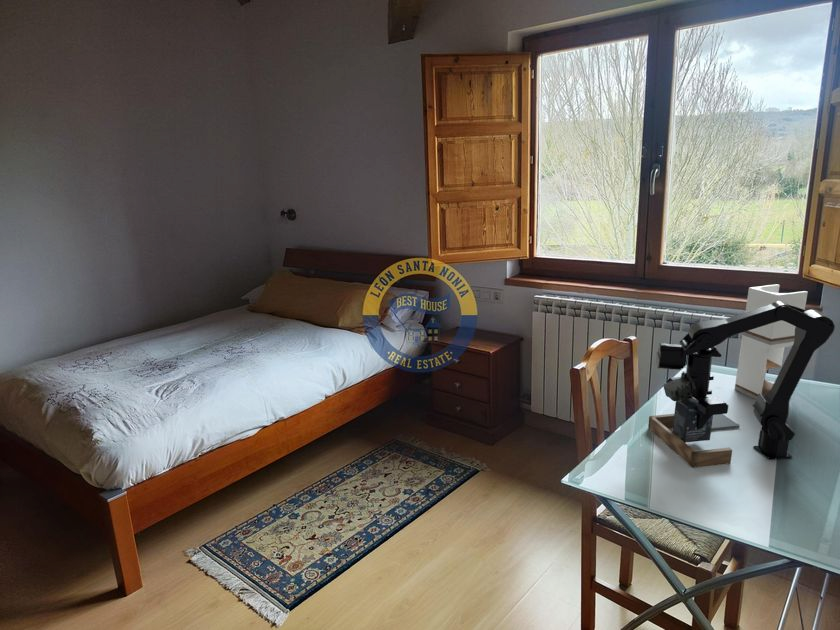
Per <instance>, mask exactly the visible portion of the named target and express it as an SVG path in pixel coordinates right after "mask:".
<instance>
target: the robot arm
mask: <svg viewBox="0 0 840 630" xmlns="http://www.w3.org/2000/svg"><path fill="white" fill-rule="evenodd" d="M781 320H782V321H785V322H787V323H790V324H792V325H794V326H796V327H795V338H794V344H793V346H791V348H790V350H789V352H788V353H787V356H786V358H785V361H784V362H783V363H782V366H781V367H780V371H779V373H778V375H777V377H776V378H775V381H774V382H773V386H772V389H771V390H770V391H769V392H768V393H767V394H766V395H762V394H760V393H759V394H758V397H757V400H756V399H755V400H756V401H755V402H754V403H753V404H752V405H751V406H752V407H753V414H754V416H755V417H756V420H757V421H758V422H759V424H760V426H761V429H760V431H759V436H758V437H759V438H758V443H757V444H758V445H753V446H752V448H753V449H754V450H755V451H756V452H758V453H760V454H761V455H762V456H763V457H765V458H767V459H768V460H770V461H772V460H782V459H790V458H793V455H792V454H790V453H789V452H788V450H789V445H790V441H792V439H793V438H794V436H795V434H796V433H795V432H794V430H793V429H792V428H791V426H790V425H789V424H788V422H787V421H788V417H789V412H790V410H789V409H790V401H791V398H792V396H793V394H794V392H795V390H796V388H797V386H798V385H799V382H800V381H801V378H802V376H803V374H804V373H805V371H806V369H807V367H808V365H809V363H810V361H811V360H812V357H813V355H814V353H815V352H816V351H817V350H818V349H820V347H822V346H823V345H824V344H826V343H827V341H828V340H829V338H830V337H831V336H832V335H833V333H834V331H835V329H836V327H835V324H834V321H833V320H832V319H830V317H829V316H827V315H825V314H824V313H822V312H821V311H819V310H817V309H808V310H806V309H805V310H804V309H801V308H798V307H795V306H792V305H788V304H786V303H784V302H782V301H776V302H774V303H772V304H770V305H767V306H764V307H761V308H758V309H755V310H751V311H748V312H746V311H745V312H743V313H742V312H741V313H739V314H736V315H733V316H730V317H727V318H724V319H723V318H722V319H709V320H702V321H697V322H695V323H692V324H691V326H690V327H689V329H688V333H686V334H685V336H683V337H682V339H680V341H678V343H679V344H675V343H674V344H671V343H666V342H660V343H659V346H658V349H657V351H656V356H655V357H656V359H655V361H656V364H655V365H656V368H657V369H659V370H660V369H661V370H662V369H663V370H678V371H679V370H681V369H684V367H686V370H685V371H682V372H681V374H680V376H678V377H677V376H676V377H669V378H668V379H667V380H666V382H665V383H663V384H662V385H663V390H664V393H665V396H666V397H667V398H669V399H671V401H673V402H676V401H678V400H680V399H681V400H684V399H689V398H694V399H695V400H698V401H699V402H698V405H697V407H693V409H694V410H695V411H696V412H697V429H702V428H703V426H704V425H705V424H706V422H707V421H708V420H709V419H710V417H711V416H712V415H718V414H723V415H726V414H728V412H729V405H728V404H727V402H725V401H723V400H722V399H720V398H718V397H717V396H716V397H708V396H710V395H712V394H713V390H712V389H710V381H713V380H714V377H715V376H714V375H712V374H711V371H712V365H713V364H712V363H713V358H722V354H721V352H720V350H718V349H717V346H719V345H720V344H722V343H723V342H725V341H726V340H727V339H729V338H731V337H732V336H735V335H740V334H742V333H743V332H745V331H749V330H752V329H755V328H758V327H761V326H765V325H768V324H771V323H774V322H777V321H781Z"/></svg>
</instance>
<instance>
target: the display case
mask: <svg viewBox="0 0 840 630" xmlns="http://www.w3.org/2000/svg"><path fill="white" fill-rule="evenodd" d="M808 293H809V291H806V290H803V291H795V292H780V284H776V283H774V284H767V285H760V286H751V287H748V292H747V300H746V305H745V312H748V311H751V310H755V309H758V308H761V307H764V306H767V305H770V304H772V303H774V302H776V301H782V302H784V303H786V304H788V305H792V306H795V307H798V308H801V309H804V310H806V304H807V300H808V299H807V298H808ZM795 327H796V326H794V325H792V324H790V323H787V322H785V321H782V320H781V321H777V322H774V323H771V324H768V325H765V326H761V327H758V328H755V329H752V330H749V331H745V332H742V333H741V342H740V348H739V357H738V364H737V369H736V376H735V384H734V390H735V391H737V392H739V393H742V394H744V395H745V396H747V397H749V398H752V399H754V400H757V397H758V394H759V393H760V394H762V395H766V394H767V393H768V392H769V391H770V390H771V389H772V386H773V384H774V382H771V381H769V380H766V375H767V371H768V370H773V369H778V368H779V369H781V368H782V366H783V359H784V354H785V348H787V347H788V348H789V347H792V346H793V344H794V338H795Z"/></svg>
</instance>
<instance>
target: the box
mask: <svg viewBox="0 0 840 630" xmlns="http://www.w3.org/2000/svg"><path fill="white" fill-rule="evenodd" d="M698 402H699V401H698V400H695V399H694V398H689V399H684V400H681V399H680V400H678V401H675V403H674V404H675V406H674V407H675V408H674V413H673V414H674V422H673V428H672V431H671V432H673V433H674V434H675V435H676V436H678V437H679V438H680V439H681V440H682V441H684V442H685V443H686V444H687V443H694V442H704V441H710V440H711V434H712V431H711V427H712V419H713V415H712V416H711V417H710V419H709V420H708V421H707V422H706V424H705V425H704V426H703V428H702V429H697V412H696V411H695V410H694V409H693V407H697V405H698Z"/></svg>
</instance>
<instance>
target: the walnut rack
mask: <svg viewBox="0 0 840 630" xmlns="http://www.w3.org/2000/svg"><path fill="white" fill-rule="evenodd" d="M648 416H649V415H648ZM673 422H674V413H668V414H658V415H657V414H656V415H650V416H649V417H648V427H647V429H648V428H649V429H648V430H649V431H650V432H651V433H653V434H654V435H655V436H656V437H657V438H658V439H659V440H661V441H662V443H664V444H665V445H666V446H668V448H669V449H671V450H672V451H673V452H674V453H675V454H676V455H677V456H679V457H680V458H681V460H683V461H684V462H685V463H687V464H688V465H689V466H690V467H691V469H693V468H695V469H696V468H704V467H713V466H721V465H722V466H723V465H730V464H731V461H732V456H733V449H732V448H731V447H722V448H721V447H720V448H711V449H703V450H694V449H693V448H692V447H691V446H689V445H688V444H687V442H686V443H685V442H684V441H682V440H681V439H680V438H679V437H678V436H676V435H675V434H674V433H673V432H672V431H671V430H670V429H673Z"/></svg>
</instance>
